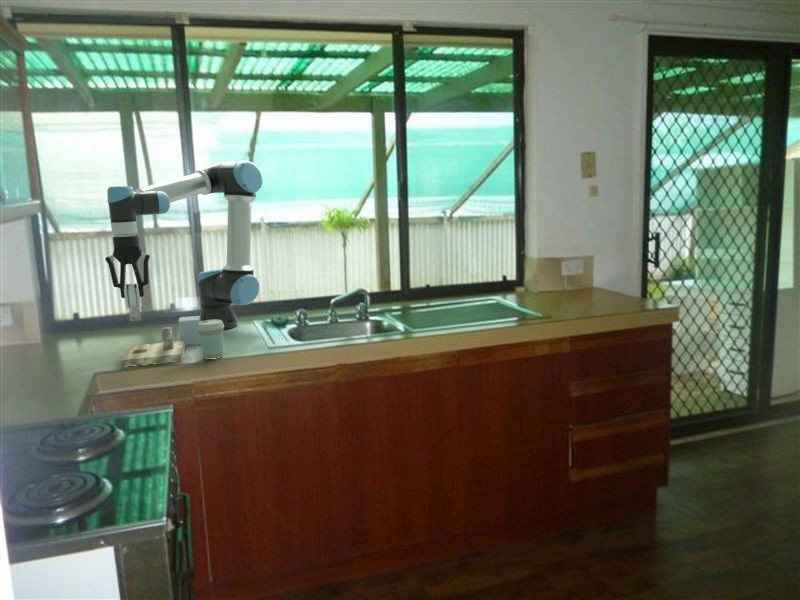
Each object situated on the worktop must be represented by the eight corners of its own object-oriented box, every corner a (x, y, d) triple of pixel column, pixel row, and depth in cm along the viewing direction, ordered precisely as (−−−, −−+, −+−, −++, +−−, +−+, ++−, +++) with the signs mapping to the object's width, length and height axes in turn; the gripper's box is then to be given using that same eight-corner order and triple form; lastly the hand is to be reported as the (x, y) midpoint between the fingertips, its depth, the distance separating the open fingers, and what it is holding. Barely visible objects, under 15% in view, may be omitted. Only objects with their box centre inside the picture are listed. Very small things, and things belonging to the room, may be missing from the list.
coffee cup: (217, 352, 205) (214, 317, 203) (232, 356, 200) (229, 320, 197) (195, 358, 198) (191, 323, 196) (209, 362, 193) (206, 326, 191)
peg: (141, 318, 200) (137, 282, 197) (140, 320, 197) (135, 284, 194) (131, 319, 199) (126, 283, 196) (129, 321, 196) (125, 285, 193)
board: (185, 347, 212) (182, 321, 211) (181, 361, 195) (178, 333, 194) (130, 352, 208) (126, 326, 206) (121, 367, 191) (117, 338, 189)
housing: (202, 339, 223) (200, 315, 221) (201, 343, 216) (199, 319, 215) (182, 341, 221) (179, 317, 219) (181, 346, 214) (178, 321, 213)
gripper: (153, 233, 198) (161, 302, 203) (100, 235, 194) (109, 307, 198) (150, 234, 191) (159, 307, 195) (95, 237, 187) (105, 311, 191)
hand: (134, 307), depth 197 cm, fingers closed on peg, 3 cm apart
